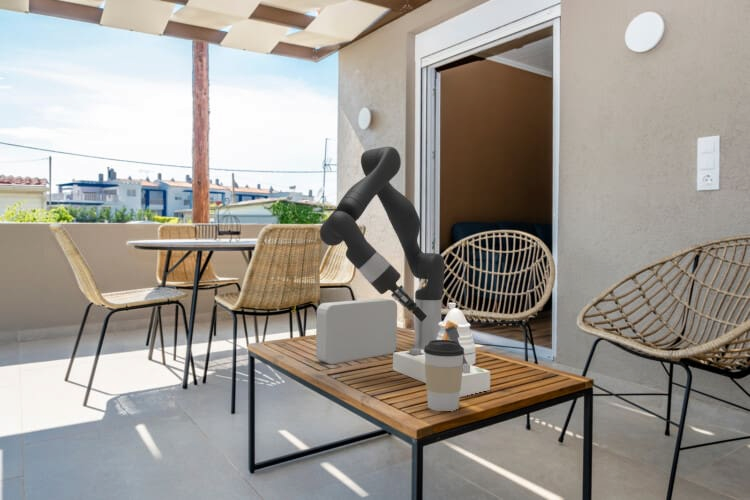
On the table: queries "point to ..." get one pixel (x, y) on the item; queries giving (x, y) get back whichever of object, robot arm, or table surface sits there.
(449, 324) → the orange paddle
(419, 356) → the white rectangular tray
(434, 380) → the coffee cup
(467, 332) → the honey pot
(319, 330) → the rounded white slab
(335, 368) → the table surface
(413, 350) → the grey button
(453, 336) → the charcoal paddle
